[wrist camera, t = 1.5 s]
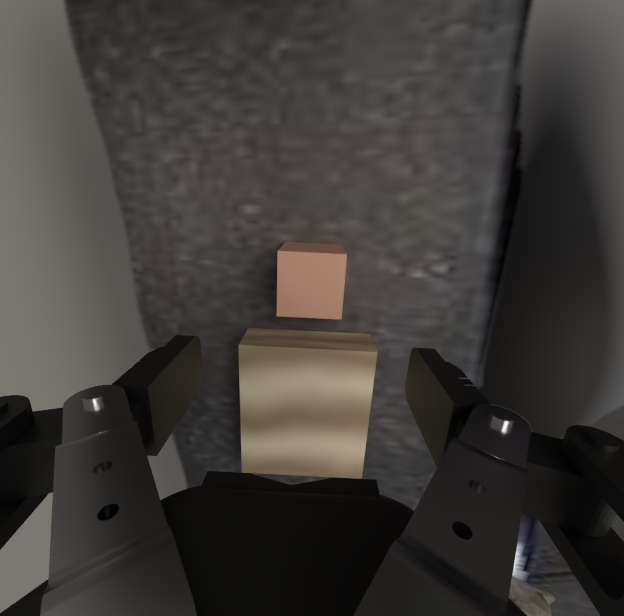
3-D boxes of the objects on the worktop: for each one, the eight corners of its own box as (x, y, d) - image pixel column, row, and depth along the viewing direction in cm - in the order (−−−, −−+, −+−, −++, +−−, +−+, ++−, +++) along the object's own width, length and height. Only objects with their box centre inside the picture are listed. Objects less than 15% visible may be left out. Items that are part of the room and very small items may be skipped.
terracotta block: (285, 241, 28) (277, 250, 23) (341, 244, 28) (346, 254, 23) (284, 295, 30) (276, 316, 24) (336, 297, 30) (341, 319, 24)
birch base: (248, 327, 31) (238, 344, 27) (370, 334, 31) (377, 352, 27) (250, 443, 35) (241, 472, 31) (356, 449, 35) (361, 478, 31)
